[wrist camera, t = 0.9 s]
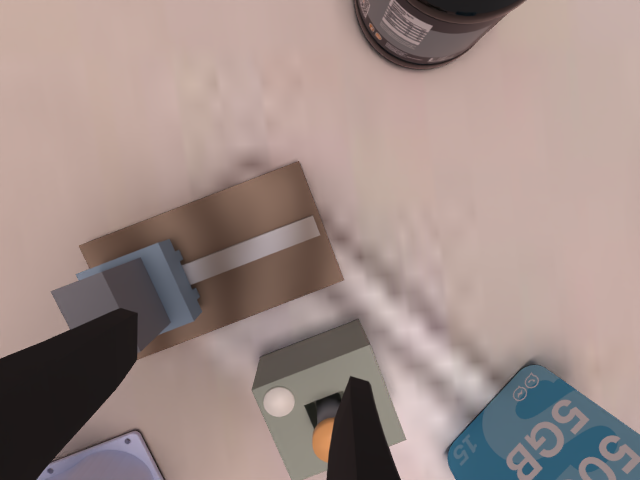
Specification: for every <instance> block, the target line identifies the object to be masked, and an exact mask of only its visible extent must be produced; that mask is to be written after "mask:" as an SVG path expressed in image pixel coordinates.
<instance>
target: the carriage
mask: <svg viewBox="0 0 640 480" xmlns="http://www.w3.org/2000/svg"><path fill="white" fill-rule="evenodd" d="M181 260H183V257H182V255H181V253H180V251H179V250H177V251H175V250H174V248H173V245H172V243H171V241H170V239H168V240H165V241H162V242H158V243H156V244H153V245H151V246H148V247H145V248H143V249H140V250H138V251H135V252H132V253H130V254H127V255H125V256H122V257H119V258H117V259H114V260H112V261H109V262H106V263H104V264H101V265H99V266H96V267H93V268H91V269H88V270H86V271H83V272H80V273H78V274H76V276H77V278H78V280H79V281H77V282H74V283H71V284H69V285H66V286H64V287H61V288H58V289H56V290H53V291H51V293H52V295H53V297H54V299H55V301H56V303H57V305H58V307H59V309H60V311H61V313H62V314H63V316H64V318H65V320H66V322H67V324H68V326H69V328H70V330H71V329H73V328H75V327H78V326H80V325H82V324H84V323H87V322H89V321H91V320H93V319H96V318H98V317H100V316H102V315H105V314H107V313H109V312H111V311H114V310H116V309H119V308H123V309H126V310H130V311H133V312H136V313H138V337H137V353H139V352H141V351H142V350H143V349H144V348H145V347H146V346H147V345H148V344H149V343H150V342H151V341H152V340H153V339H154V338H156V337H157V336H158V335H160V334H162V333H165V332H167V331H170V330H173V329H175V328H178V327H180V326H183V325H186V324H188V323H191V322H193V321H195V319H196V318H197V317H198V316H199V315H200V314H201V313H202V310H201V308H200V305H199V303H198V301H197V299H198V298H199V297H200V295H199V293H198V291H197V289H196V288H193V289H192V288H191V285H190V283H189V281H188V279H187V277H186V274H185V272H184V270H183V268H182V265H181V263H180V261H181Z"/></svg>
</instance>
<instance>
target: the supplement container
mask: <svg viewBox="0 0 640 480" xmlns="http://www.w3.org/2000/svg"><path fill="white" fill-rule="evenodd" d="M525 1H526V0H354V2H355V9H356V14H357V17H358V21H359V24H360V26H361V29H362V31H363V32H364V34H365V36H366V38H367V39H368V41H369V42H370V43H371V45H372V46H373V47H374V48H375V49H376V50H377V51H378V52H379V53H380V54H381V55H383V56H384V57H385V58H387V59H388V60H390V61H392V62H394V63H396V64H398V65H401V66H404V67H408V68H413V69H429V68H435V67H439V66H442V65H445V64H448V63H450V62H452V61H454V60H456V59H457V58H459V57H460V56H462V55H463V54H464V53H466V52H467V51H468V50H469V49H470V48H471V47H473V46H474V45H475V43H476V42H477V41H478V40H479V39H480V38H481V37H482V36H483V35H484V34H486V33H487V32H488V31H489V30H490V29H491V28H492V27H493V26H495V25H496V24H497V23H498V22H499V21H500V20H501V19H502V18H503V17H505V16H506V15H507V14H508V13H509V12H510V11H512V10H514V9H515V8H517V7H518V6H520V5H521V4H522V3H524V2H525Z"/></svg>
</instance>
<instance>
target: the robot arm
mask: <svg viewBox="0 0 640 480" xmlns="http://www.w3.org/2000/svg"><path fill="white" fill-rule="evenodd" d="M137 337H138V313H136V312H133V311H130V310H126V309H123V308H119V309H116V310H114V311H111V312H109V313H107V314H105V315H102V316H100V317H98V318H96V319H93V320H91V321H89V322H87V323H84V324H82V325H80V326H78V327H75V328H73V329H71V330H69V331H66V332H64V333H62V334H59V335H57V336H55V337H53V338H50V339H48V340H46V341H43V342H41V343H38V344H36V345H33V346H31V347H28V348H26V349H23V350H21V351H18V352H16V353H13V354H11V355H8V356H6V357H3V358H1V359H0V480H164V479H163V478H162V476H161V474H160V472H159V470H158V468H157V466H156V464H155V462H154V460H153V458H152V456H151V454H150V452H149V450H148V448H147V446H146V444H145V442H144V440H143V438H142V436H141V434H140V433H139V432H138V431H132V432H130V433H127V434H124V435H122V436H119V437H117V438H114V439H111V440H109V441H106V442H104V443H101V444H98V445H96V446H93V447H91V448H88V449H85V450H83V451H80V452H78V453H75V454H72V455H70V456H67V457H65V458H62V459H59V460H57V461H54V462H52V463H50V462H51V461H52V460H53V459H54V458H55V457H56V455H57V454H58V453H59V452H60V451H61V450H62V449H63V447H64V446H65V445H66V444H67V443H68V442H69V441H70V440H71V439H72V438H73V436H74V435H75V434H76V433H77V432H78V431H79V430H80V429H81V428H82V426H83V425H84V424H85V423H86V422H87V421H88V420H89V419H90V418H91V417H92V415H93V414H94V413H95V412H96V411H97V410H98V409H99V408H100V407H101V405H102V404H103V403H104V402H105V401H106V400H107V399H108V398H109V396H110V395H111V394H112V393H113V392H114V391H115V390H116V388H117V387H118V386H119V384H120V383H121V382H122V380H123V379H124V378H125V376H126V375H127V374H128V372H129V371H130V369H131V368H132V366H133V365H134V363H135V362H136V360H137ZM127 438H128V439H130V440H131V441H129V440H127ZM51 468H52V469H53V470H52V469H51ZM327 480H401V479H400V476H399V474H398V471H397V469H396V466H395V463H394V461H393V458H392V455H391V452H390V449H389V446H388V443H387V440H386V437H385V435H384V431H383V428H382V425H381V422H380V418H379V415H378V411H377V408H376V404H375V400H374V396H373V392H372V387H371V384H370V383H369V381H366V380H363V379H359V378H356V377H352V376H350V378H349V381H348V383H347V386H346V389H345V391H344V394H343V397H342V400H341V402H340V405H339V408H338V410H337V413H336V416H335V418H334V424H333V430H332V435H331V441H330V448H329V455H328V468H327Z"/></svg>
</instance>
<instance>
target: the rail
mask: <svg viewBox="0 0 640 480" xmlns="http://www.w3.org/2000/svg"><path fill="white" fill-rule="evenodd" d="M168 239H170V241H171V243H172V245H173V248H174V250H175V251H177V250H179V251H180V253H181V255H182V257H183V260H181V261H180V263H181V265H182V268H183V270H184V272H185V274H186V277H187V279H188V281H189V283H190V285H191V288H192V289H193V288H196V289H197V291H198V293H199V295H200V297H199V298H198V299H197V301H198V303H199V305H200V308H201V310H202V313H201V314H200V315H199V316H198V317H197V318H196V319H195V321H193V322H191V323H188V324H186V325H183V326H180V327H178V328H175V329H173V330H170V331H167V332H165V333H162V334H160V335H158V336H157V337H156V338H154V339H153V340H152V341H151V342H150V343H149V344H148V345H147V346H146V347H145V348H144V349H143V350H142V351H141V352H139V353H137V360H138V359H141V358H143V357H146V356H148V355H151V354H154V353H156V352H159V351H161V350H164V349H167V348H169V347H172V346H174V345H177V344H180V343H182V342H185V341H187V340H190V339H193V338H195V337H198V336H200V335H203V334H206V333H208V332H211V331H213V330H216V329H219V328H221V327H224V326H226V325H229V324H232V323H234V322H237V321H239V320H242V319H245V318H247V317H250V316H252V315H255V314H257V313H260V312H263V311H265V310H268V309H270V308H273V307H276V306H278V305H281V304H283V303H286V302H289V301H291V300H294V299H296V298H299V297H302V296H304V295H307V294H309V293H312V292H315V291H317V290H320V289H322V288H325V287H328V286H330V285H333V284H335V283H338V282H341V281H343V280H344V278H343V276H342V273H341V271H340V268H339V265H338V263H337V260H336V257H335V255H334V252H333V250H332V247H331V244H330V242H329V239H328V236H327V234H326V231H325V229H324V226H323V223H322V221H321V218H320V215H319V213H318V210H317V207H316V205H315V202H314V200H313V197H312V194H311V192H310V189H309V186H308V184H307V181H306V179H305V176H304V173H303V171H302V168H301V165H300V163H299V161H298V162H295V163H293V164H290V165H288V166H285V167H282V168H280V169H277V170H275V171H272V172H269V173H267V174H264V175H262V176H259V177H256V178H254V179H251V180H249V181H246V182H243V183H241V184H238V185H236V186H233V187H230V188H228V189H225V190H223V191H220V192H217V193H215V194H212V195H210V196H207V197H204V198H202V199H199V200H197V201H194V202H191V203H189V204H186V205H183V206H181V207H178V208H176V209H173V210H170V211H168V212H165V213H163V214H160V215H157V216H155V217H152V218H150V219H147V220H144V221H142V222H139V223H137V224H134V225H131V226H129V227H126V228H124V229H121V230H118V231H116V232H113V233H111V234H108V235H105V236H103V237H100V238H98V239H95V240H92V241H90V242H87V243H85V244H82V245H79V248H80V250H81V252H82V254H83V256H84V258H85V260H86V262H87V264H88V266H89V268H90V269H91V268H93V267H96V266H99V265H101V264H104V263H106V262H109V261H112V260H114V259H117V258H119V257H122V256H125V255H127V254H130V253H132V252H135V251H138V250H140V249H143V248H145V247H148V246H151V245H153V244H156V243H158V242H162V241H165V240H168Z"/></svg>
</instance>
